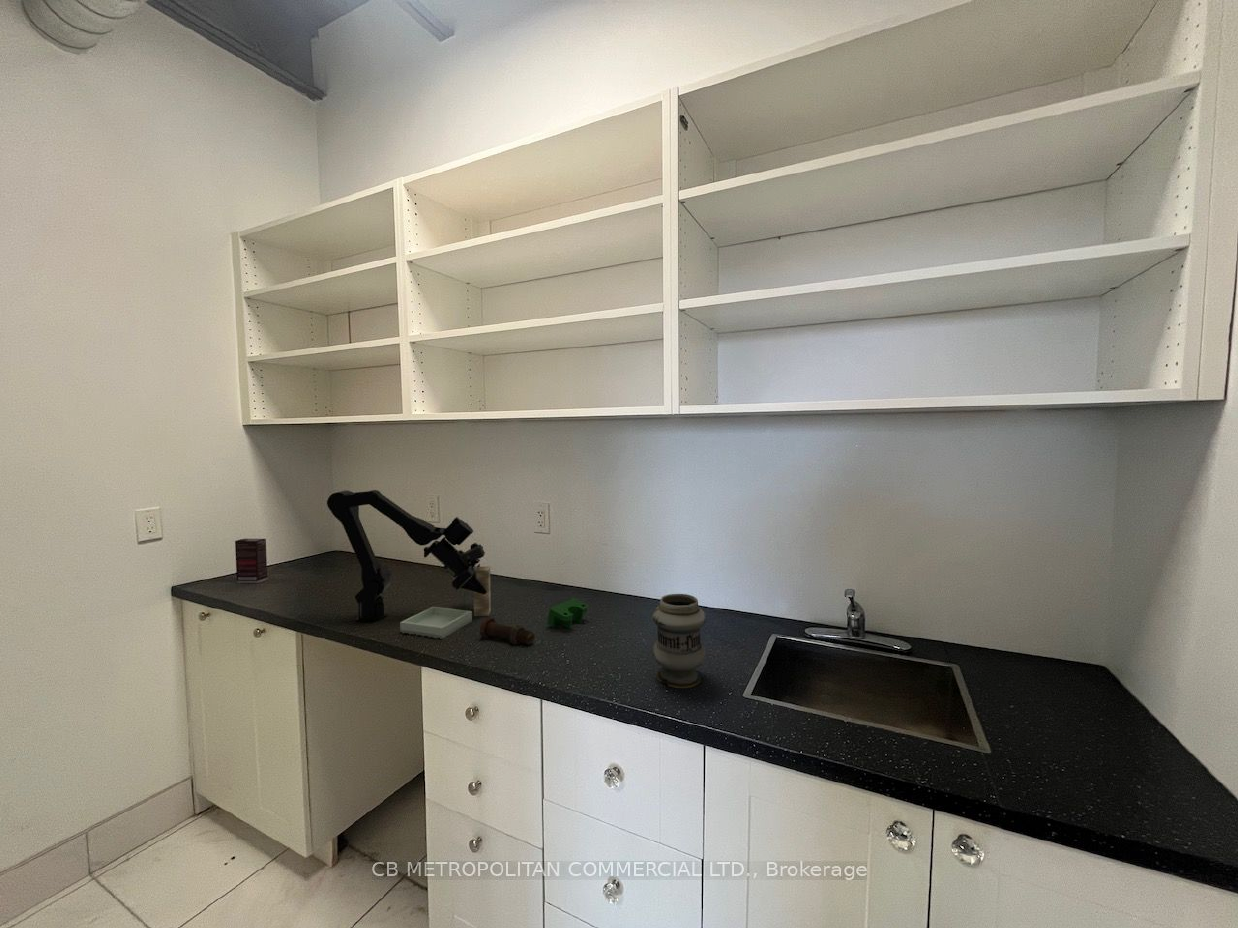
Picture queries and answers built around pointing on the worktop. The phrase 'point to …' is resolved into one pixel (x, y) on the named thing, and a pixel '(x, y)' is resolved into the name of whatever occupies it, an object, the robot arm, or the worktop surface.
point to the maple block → (482, 599)
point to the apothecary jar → (679, 640)
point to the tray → (436, 622)
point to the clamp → (567, 613)
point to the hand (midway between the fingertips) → (486, 590)
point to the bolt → (505, 632)
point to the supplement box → (251, 560)
